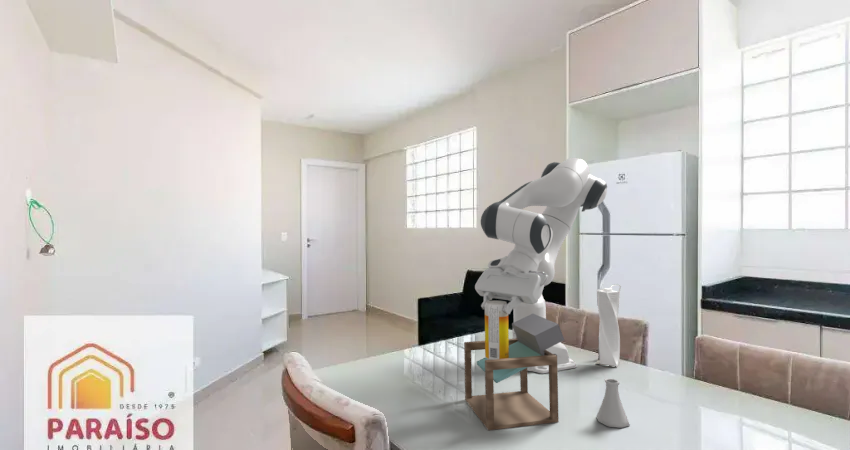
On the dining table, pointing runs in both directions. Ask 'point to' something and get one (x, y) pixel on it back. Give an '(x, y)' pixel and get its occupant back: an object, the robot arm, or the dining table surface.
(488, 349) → the beer can
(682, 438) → the dining table surface
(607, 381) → the flask
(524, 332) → the trapdoor
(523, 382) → the stand
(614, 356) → the skyscraper
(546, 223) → the robot arm
